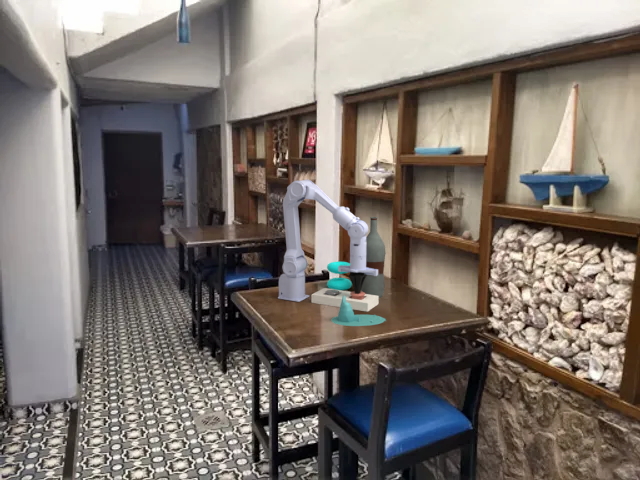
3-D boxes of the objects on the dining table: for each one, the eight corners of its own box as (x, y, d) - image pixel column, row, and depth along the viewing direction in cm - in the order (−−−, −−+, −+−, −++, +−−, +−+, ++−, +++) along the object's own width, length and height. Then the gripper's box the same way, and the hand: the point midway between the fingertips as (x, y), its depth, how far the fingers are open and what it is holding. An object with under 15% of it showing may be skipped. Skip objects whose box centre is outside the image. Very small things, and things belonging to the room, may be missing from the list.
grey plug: (322, 300, 175) (322, 292, 175) (329, 297, 180) (329, 289, 179) (335, 302, 173) (335, 294, 172) (341, 299, 177) (342, 290, 177)
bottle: (380, 300, 178) (382, 219, 173) (357, 297, 181) (358, 218, 176) (387, 293, 186) (389, 216, 181) (364, 291, 190) (366, 215, 185)
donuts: (353, 261, 197) (349, 266, 187) (353, 285, 198) (349, 291, 189) (329, 260, 199) (324, 265, 189) (329, 283, 201) (324, 290, 191)
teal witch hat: (393, 326, 151) (393, 300, 150) (329, 328, 149) (329, 301, 148) (384, 314, 163) (385, 289, 162) (326, 315, 161) (326, 291, 160)
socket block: (311, 302, 175) (311, 294, 174) (324, 295, 183) (324, 288, 183) (367, 311, 164) (367, 303, 164) (378, 303, 173) (378, 295, 173)
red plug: (347, 302, 170) (347, 293, 170) (353, 298, 175) (354, 290, 174) (361, 304, 168) (361, 295, 167) (367, 300, 172) (367, 292, 172)
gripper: (334, 255, 168) (334, 293, 171) (373, 259, 162) (372, 298, 164) (343, 252, 175) (342, 288, 177) (380, 256, 168) (380, 293, 170)
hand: (357, 293), depth 171 cm, fingers closed, pressing on red plug
